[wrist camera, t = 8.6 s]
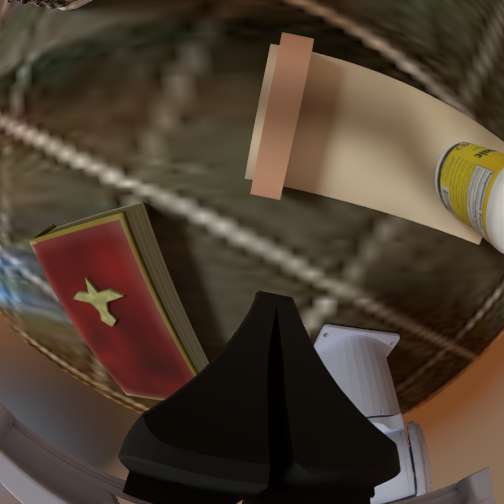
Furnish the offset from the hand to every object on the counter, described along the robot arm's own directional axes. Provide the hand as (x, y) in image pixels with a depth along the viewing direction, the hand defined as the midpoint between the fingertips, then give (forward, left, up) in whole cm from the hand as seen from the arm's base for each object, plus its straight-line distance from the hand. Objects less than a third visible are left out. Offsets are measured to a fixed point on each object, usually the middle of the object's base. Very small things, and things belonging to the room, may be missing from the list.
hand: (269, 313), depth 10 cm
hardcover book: (-12, +11, -10) cm, 19 cm away
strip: (+7, -7, -9) cm, 14 cm away
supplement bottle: (+7, -12, -9) cm, 17 cm away
